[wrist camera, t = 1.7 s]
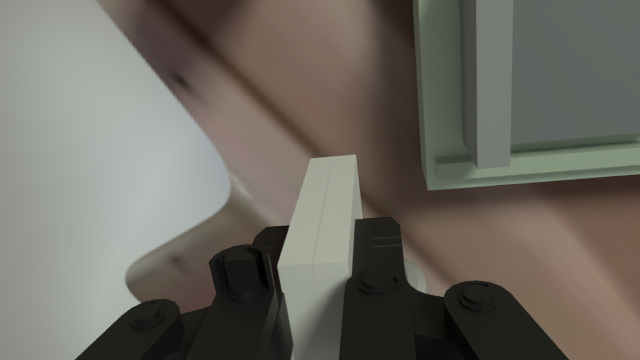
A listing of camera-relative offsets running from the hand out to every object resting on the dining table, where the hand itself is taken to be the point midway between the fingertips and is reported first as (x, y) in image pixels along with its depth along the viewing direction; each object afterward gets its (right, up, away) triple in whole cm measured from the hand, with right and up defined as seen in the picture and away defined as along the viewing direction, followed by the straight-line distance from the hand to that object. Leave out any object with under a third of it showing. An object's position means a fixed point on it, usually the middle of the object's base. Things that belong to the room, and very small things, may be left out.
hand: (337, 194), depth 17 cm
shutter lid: (+12, +8, +8) cm, 16 cm away
